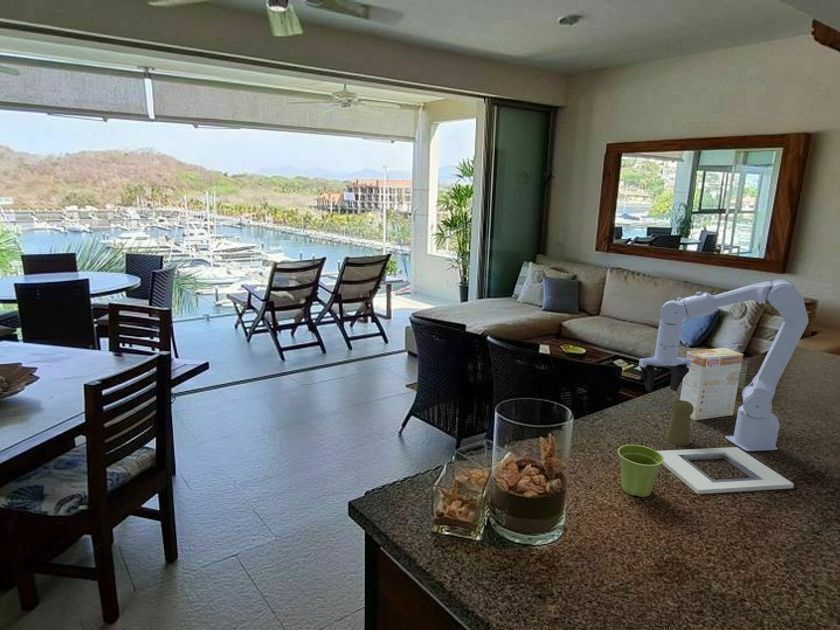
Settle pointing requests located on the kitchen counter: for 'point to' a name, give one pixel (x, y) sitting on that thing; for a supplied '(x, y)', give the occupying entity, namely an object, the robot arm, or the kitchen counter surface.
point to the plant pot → (639, 469)
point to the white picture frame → (704, 484)
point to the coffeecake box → (712, 382)
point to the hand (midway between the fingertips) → (661, 390)
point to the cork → (680, 423)
